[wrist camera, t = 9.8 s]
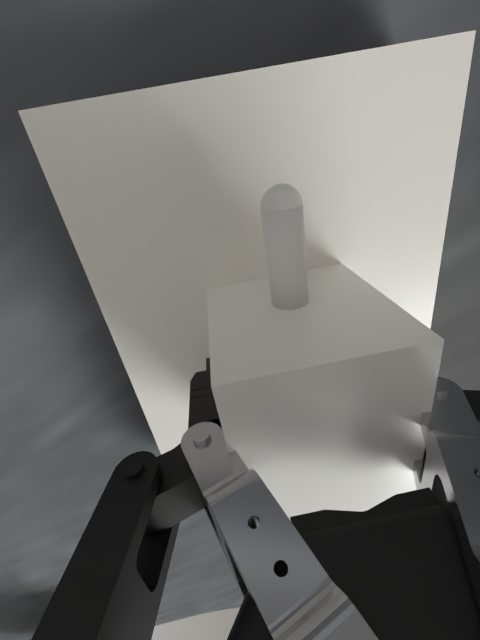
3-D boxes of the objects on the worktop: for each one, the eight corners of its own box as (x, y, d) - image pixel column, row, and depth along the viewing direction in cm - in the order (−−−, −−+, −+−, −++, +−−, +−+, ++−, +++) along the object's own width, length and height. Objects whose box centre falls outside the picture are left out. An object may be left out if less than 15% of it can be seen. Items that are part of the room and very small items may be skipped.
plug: (186, 188, 12) (168, 226, 5) (321, 163, 13) (475, 168, 5) (232, 390, 17) (253, 547, 10) (327, 370, 18) (413, 513, 10)
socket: (68, 123, 13) (2, 106, 8) (401, 65, 13) (498, 19, 9) (186, 451, 22) (182, 521, 18) (377, 412, 22) (418, 471, 18)
